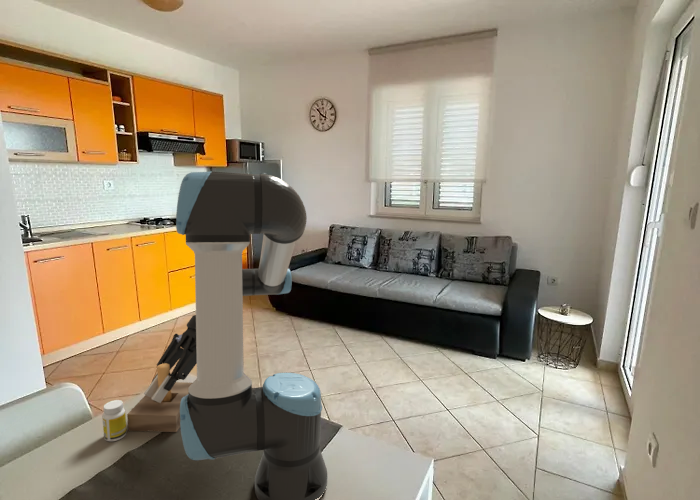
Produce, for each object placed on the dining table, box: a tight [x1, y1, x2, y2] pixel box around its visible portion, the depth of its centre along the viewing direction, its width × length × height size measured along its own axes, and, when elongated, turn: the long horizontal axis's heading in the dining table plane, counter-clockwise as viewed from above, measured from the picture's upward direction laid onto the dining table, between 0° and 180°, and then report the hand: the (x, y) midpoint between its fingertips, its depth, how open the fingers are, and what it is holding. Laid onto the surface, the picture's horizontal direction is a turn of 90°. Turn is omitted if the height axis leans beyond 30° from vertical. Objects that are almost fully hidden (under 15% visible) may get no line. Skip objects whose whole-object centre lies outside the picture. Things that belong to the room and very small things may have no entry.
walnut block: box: [126, 381, 193, 433], centre depth 104 cm, size 16×12×4 cm
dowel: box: [156, 363, 172, 402], centre depth 103 cm, size 3×3×12 cm
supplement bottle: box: [102, 399, 128, 442], centre depth 93 cm, size 5×5×8 cm
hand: (152, 398), depth 100 cm, fingers closed on dowel, 3 cm apart
